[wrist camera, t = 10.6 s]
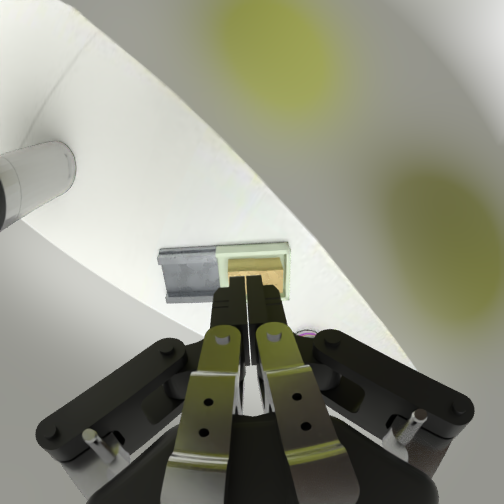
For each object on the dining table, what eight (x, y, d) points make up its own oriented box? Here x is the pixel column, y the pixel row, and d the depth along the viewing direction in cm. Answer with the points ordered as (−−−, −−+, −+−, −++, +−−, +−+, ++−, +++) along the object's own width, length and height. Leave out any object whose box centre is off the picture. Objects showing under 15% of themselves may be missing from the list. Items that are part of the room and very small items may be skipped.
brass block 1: (229, 281, 46) (229, 295, 43) (228, 259, 45) (227, 272, 41) (254, 280, 47) (256, 293, 43) (254, 258, 45) (255, 270, 41)
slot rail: (169, 296, 48) (167, 304, 45) (160, 249, 44) (156, 256, 42) (221, 294, 48) (220, 303, 46) (216, 245, 44) (215, 252, 42)
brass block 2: (254, 280, 47) (256, 294, 43) (254, 258, 45) (255, 271, 41) (279, 279, 47) (282, 292, 43) (279, 257, 45) (283, 269, 41)
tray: (221, 294, 48) (220, 304, 45) (216, 245, 44) (215, 253, 42) (286, 290, 48) (289, 300, 46) (287, 242, 44) (290, 249, 42)
